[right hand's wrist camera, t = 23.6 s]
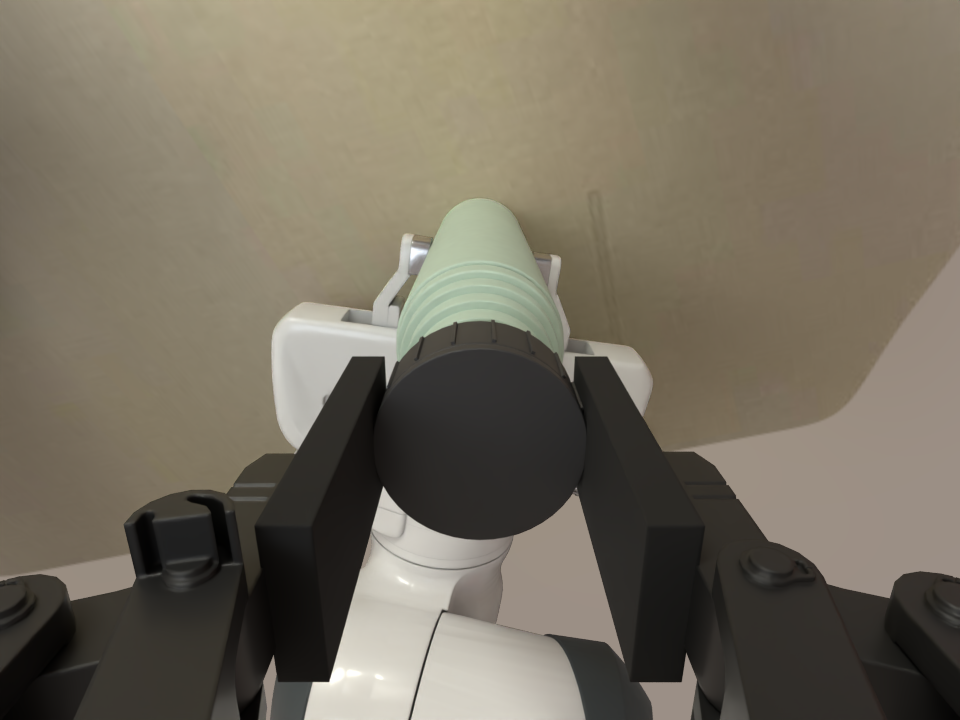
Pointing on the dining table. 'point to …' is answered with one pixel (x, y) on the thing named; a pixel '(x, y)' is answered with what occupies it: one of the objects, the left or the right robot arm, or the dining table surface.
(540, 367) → the cap
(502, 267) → the bottle
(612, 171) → the dining table surface
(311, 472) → the right robot arm
